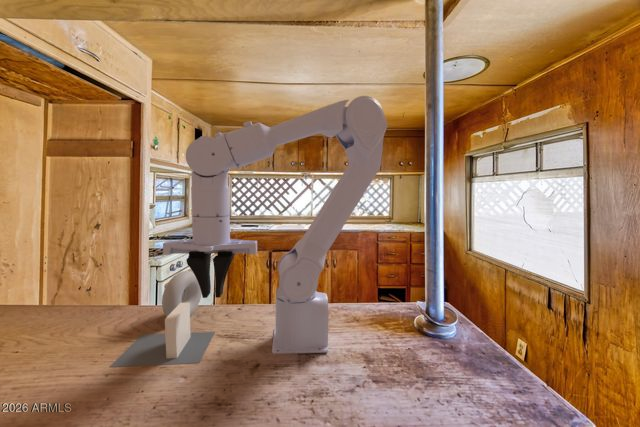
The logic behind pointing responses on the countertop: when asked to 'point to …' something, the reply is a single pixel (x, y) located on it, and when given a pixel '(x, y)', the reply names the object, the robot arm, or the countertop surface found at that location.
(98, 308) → the countertop surface
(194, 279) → the donut
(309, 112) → the robot arm
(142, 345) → the mat
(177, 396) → the countertop surface
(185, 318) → the tile
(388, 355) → the countertop surface
